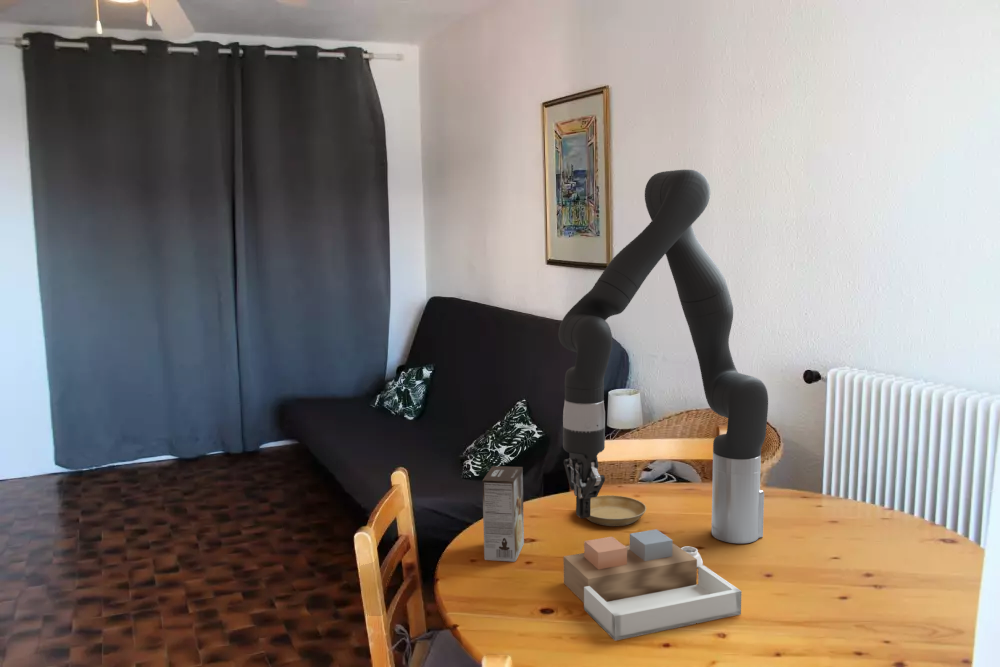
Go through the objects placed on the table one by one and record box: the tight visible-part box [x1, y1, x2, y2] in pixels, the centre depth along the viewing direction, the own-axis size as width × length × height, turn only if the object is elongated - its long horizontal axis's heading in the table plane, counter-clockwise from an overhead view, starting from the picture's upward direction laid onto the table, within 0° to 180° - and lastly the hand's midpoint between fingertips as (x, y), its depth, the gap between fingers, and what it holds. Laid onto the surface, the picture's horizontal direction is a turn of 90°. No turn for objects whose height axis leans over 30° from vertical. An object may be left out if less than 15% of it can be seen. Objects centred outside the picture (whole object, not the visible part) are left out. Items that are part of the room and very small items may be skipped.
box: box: [583, 564, 743, 641], centre depth 138 cm, size 23×11×4 cm, turn 110°
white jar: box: [680, 545, 704, 569], centre depth 157 cm, size 5×3×5 cm
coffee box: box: [481, 465, 525, 563], centre depth 163 cm, size 9×6×16 cm
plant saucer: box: [586, 494, 647, 527], centre depth 182 cm, size 15×15×3 cm
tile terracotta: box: [583, 536, 627, 569], centre depth 147 cm, size 6×6×3 cm
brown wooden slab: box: [563, 542, 698, 604], centre depth 149 cm, size 21×10×5 cm, turn 110°
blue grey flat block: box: [629, 528, 674, 561], centre depth 150 cm, size 6×6×3 cm
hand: (583, 516), depth 154 cm, fingers closed
